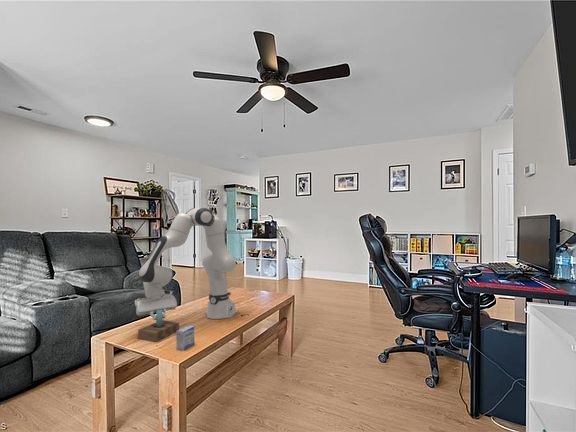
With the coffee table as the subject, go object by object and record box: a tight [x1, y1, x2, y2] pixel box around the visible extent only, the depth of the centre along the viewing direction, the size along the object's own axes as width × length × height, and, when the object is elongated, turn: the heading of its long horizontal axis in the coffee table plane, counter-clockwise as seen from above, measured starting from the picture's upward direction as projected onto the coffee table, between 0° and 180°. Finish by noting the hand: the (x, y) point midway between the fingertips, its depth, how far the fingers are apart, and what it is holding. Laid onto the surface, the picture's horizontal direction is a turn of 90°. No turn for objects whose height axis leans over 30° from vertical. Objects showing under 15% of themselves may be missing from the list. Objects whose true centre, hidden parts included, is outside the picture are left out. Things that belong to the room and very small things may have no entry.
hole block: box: [137, 319, 180, 343], centre depth 153 cm, size 16×12×4 cm
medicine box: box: [175, 325, 195, 351], centre depth 138 cm, size 8×4×9 cm, turn 160°
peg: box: [155, 310, 164, 328], centre depth 153 cm, size 3×3×10 cm
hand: (159, 318), depth 153 cm, fingers closed on peg, 3 cm apart
